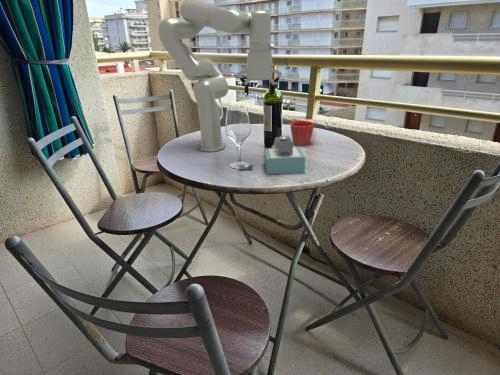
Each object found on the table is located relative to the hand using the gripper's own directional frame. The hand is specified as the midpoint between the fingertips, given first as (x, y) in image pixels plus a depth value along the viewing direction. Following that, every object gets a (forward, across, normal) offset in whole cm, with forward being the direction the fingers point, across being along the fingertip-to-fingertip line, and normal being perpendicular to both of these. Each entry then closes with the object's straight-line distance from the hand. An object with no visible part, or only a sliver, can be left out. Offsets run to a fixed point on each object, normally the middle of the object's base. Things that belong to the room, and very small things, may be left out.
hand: (259, 94), depth 127 cm
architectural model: (+26, -9, -1) cm, 28 cm away
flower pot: (+26, -21, -15) cm, 37 cm away
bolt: (+26, +6, +15) cm, 30 cm away
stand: (+25, -9, +16) cm, 31 cm away
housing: (+19, -9, +15) cm, 26 cm away
